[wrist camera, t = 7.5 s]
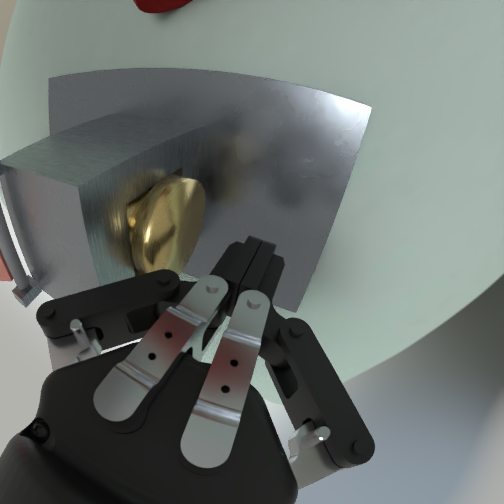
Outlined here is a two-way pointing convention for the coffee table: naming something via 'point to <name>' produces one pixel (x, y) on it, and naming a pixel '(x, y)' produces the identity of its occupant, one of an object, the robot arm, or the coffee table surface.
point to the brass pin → (166, 224)
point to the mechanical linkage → (159, 5)
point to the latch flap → (10, 258)
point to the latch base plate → (179, 172)
